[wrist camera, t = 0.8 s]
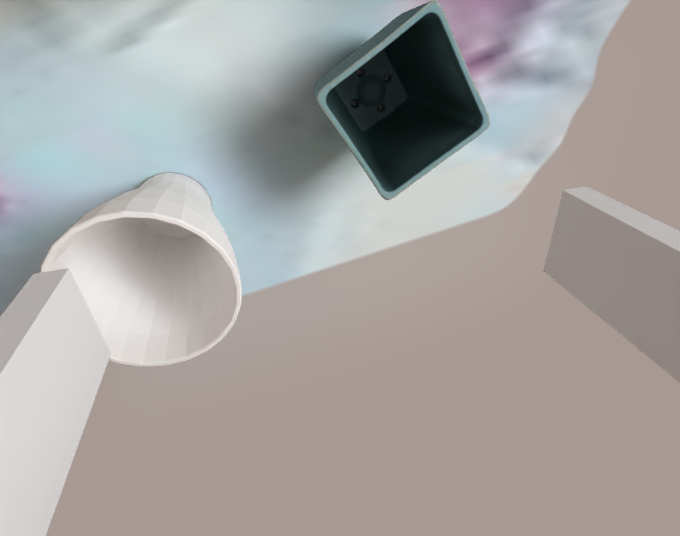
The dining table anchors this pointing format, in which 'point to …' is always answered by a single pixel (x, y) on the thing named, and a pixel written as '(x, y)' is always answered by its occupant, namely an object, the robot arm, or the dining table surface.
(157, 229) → the cup
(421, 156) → the flower pot
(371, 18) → the dining table surface
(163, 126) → the dining table surface
